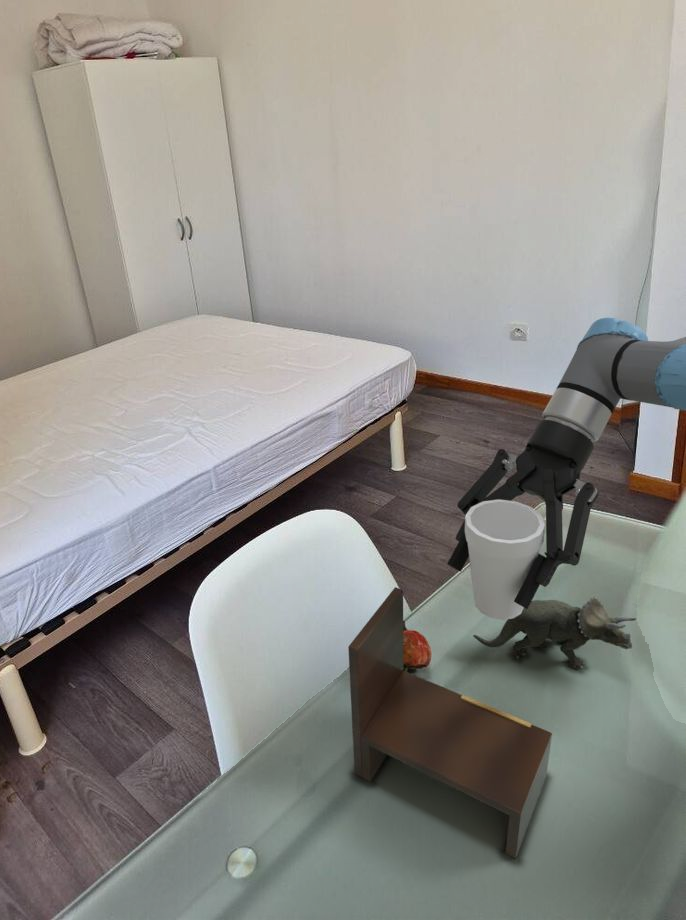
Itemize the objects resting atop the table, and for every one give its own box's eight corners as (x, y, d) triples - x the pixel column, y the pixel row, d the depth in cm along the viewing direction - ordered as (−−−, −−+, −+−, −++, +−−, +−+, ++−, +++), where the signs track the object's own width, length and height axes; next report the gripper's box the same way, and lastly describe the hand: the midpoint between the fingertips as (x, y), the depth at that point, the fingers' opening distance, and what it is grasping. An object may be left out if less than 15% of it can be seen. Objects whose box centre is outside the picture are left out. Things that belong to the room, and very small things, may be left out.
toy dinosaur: (471, 659, 105) (474, 602, 100) (476, 621, 112) (479, 567, 107) (626, 687, 99) (638, 627, 94) (621, 645, 106) (632, 587, 101)
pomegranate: (434, 694, 102) (435, 626, 107) (427, 689, 96) (428, 617, 101) (385, 691, 105) (387, 624, 109) (375, 685, 98) (378, 615, 103)
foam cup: (449, 591, 93) (451, 510, 87) (507, 572, 95) (513, 492, 90) (488, 637, 85) (494, 551, 79) (551, 615, 87) (561, 531, 82)
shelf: (546, 776, 87) (563, 646, 77) (515, 859, 78) (531, 723, 69) (396, 708, 98) (395, 586, 88) (354, 773, 89) (348, 646, 79)
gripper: (660, 471, 83) (575, 636, 81) (506, 418, 99) (431, 555, 97) (645, 448, 78) (554, 624, 76) (485, 395, 93) (405, 540, 91)
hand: (485, 585), depth 86 cm, fingers closed on foam cup, 9 cm apart
